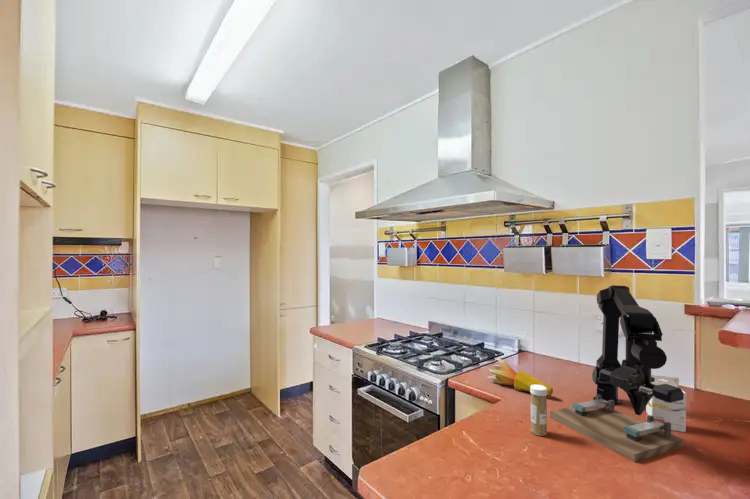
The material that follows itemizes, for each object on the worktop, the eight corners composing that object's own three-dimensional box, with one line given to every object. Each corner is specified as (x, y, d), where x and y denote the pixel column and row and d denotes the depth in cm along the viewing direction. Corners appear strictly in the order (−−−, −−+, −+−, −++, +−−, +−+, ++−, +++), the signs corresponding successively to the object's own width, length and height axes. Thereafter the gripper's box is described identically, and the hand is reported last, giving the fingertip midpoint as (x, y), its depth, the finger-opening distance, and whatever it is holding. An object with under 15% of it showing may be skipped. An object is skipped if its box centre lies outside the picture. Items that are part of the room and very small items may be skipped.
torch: (549, 410, 128) (487, 382, 147) (558, 395, 133) (497, 369, 151) (546, 394, 125) (483, 367, 144) (556, 379, 129) (494, 354, 148)
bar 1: (601, 402, 118) (601, 398, 118) (610, 406, 115) (610, 402, 115) (572, 408, 114) (572, 403, 114) (581, 412, 111) (582, 407, 111)
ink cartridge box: (651, 428, 108) (651, 379, 108) (645, 420, 113) (645, 373, 113) (686, 432, 105) (686, 382, 105) (678, 425, 110) (678, 376, 110)
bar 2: (654, 424, 103) (654, 419, 104) (666, 429, 101) (666, 424, 101) (623, 431, 99) (623, 426, 99) (635, 437, 96) (635, 432, 96)
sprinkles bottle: (548, 437, 102) (548, 390, 102) (531, 435, 104) (531, 388, 104) (545, 430, 107) (545, 384, 107) (529, 427, 108) (529, 383, 108)
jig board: (594, 407, 122) (594, 391, 122) (683, 446, 98) (683, 426, 98) (550, 417, 115) (550, 400, 115) (634, 462, 91) (634, 440, 91)
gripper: (586, 351, 104) (586, 405, 104) (656, 371, 87) (656, 436, 87) (612, 348, 108) (612, 399, 108) (684, 366, 91) (684, 428, 91)
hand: (638, 414), depth 98 cm, fingers closed
